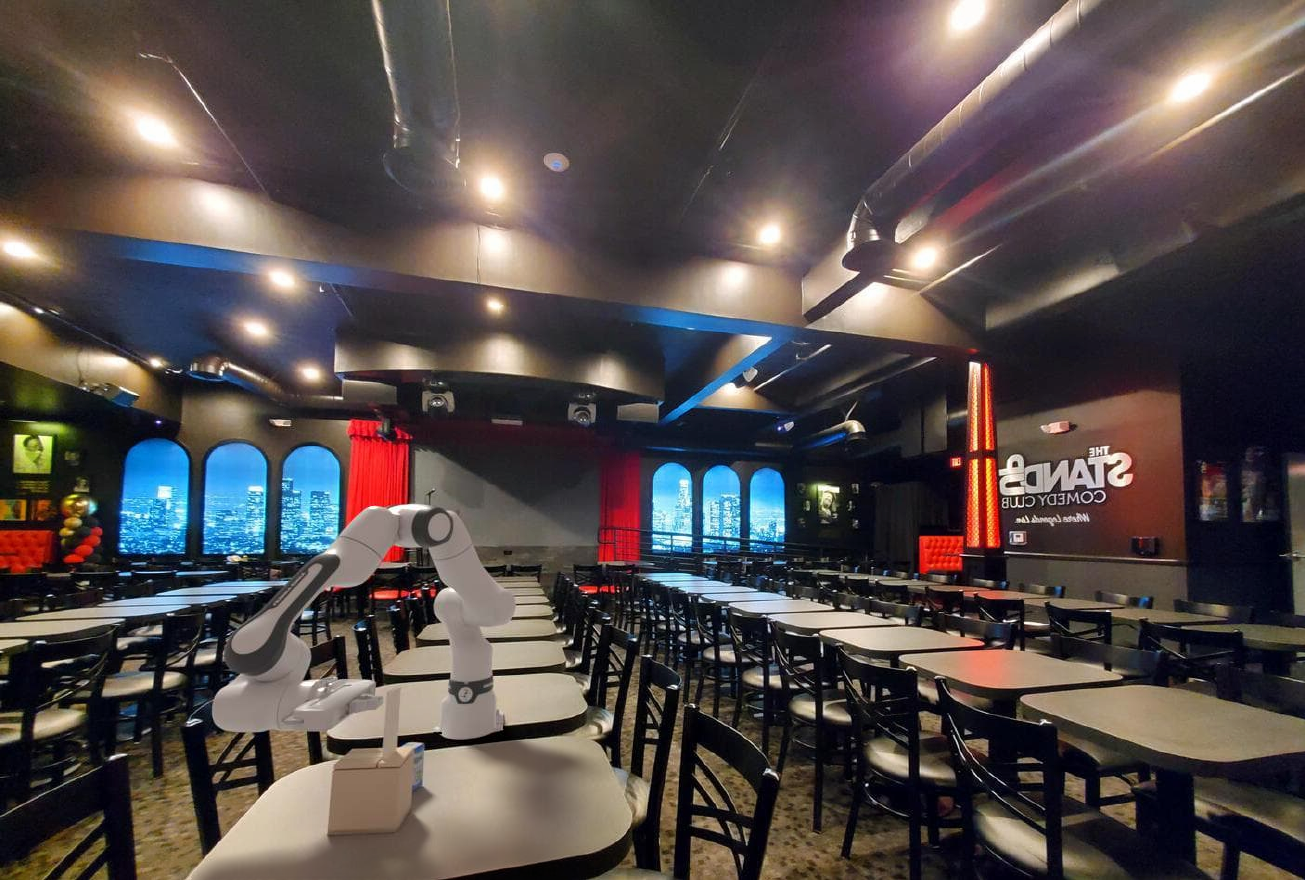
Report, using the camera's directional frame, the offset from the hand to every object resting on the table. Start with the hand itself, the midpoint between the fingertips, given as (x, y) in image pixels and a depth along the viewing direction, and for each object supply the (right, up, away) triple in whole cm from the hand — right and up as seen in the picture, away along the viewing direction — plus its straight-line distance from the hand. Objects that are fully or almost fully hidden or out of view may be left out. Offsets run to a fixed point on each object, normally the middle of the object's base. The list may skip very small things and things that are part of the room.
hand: (380, 702), depth 108 cm
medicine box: (+1, -23, +8) cm, 25 cm away
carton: (0, -21, -4) cm, 21 cm away
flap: (+4, -10, -1) cm, 11 cm away
